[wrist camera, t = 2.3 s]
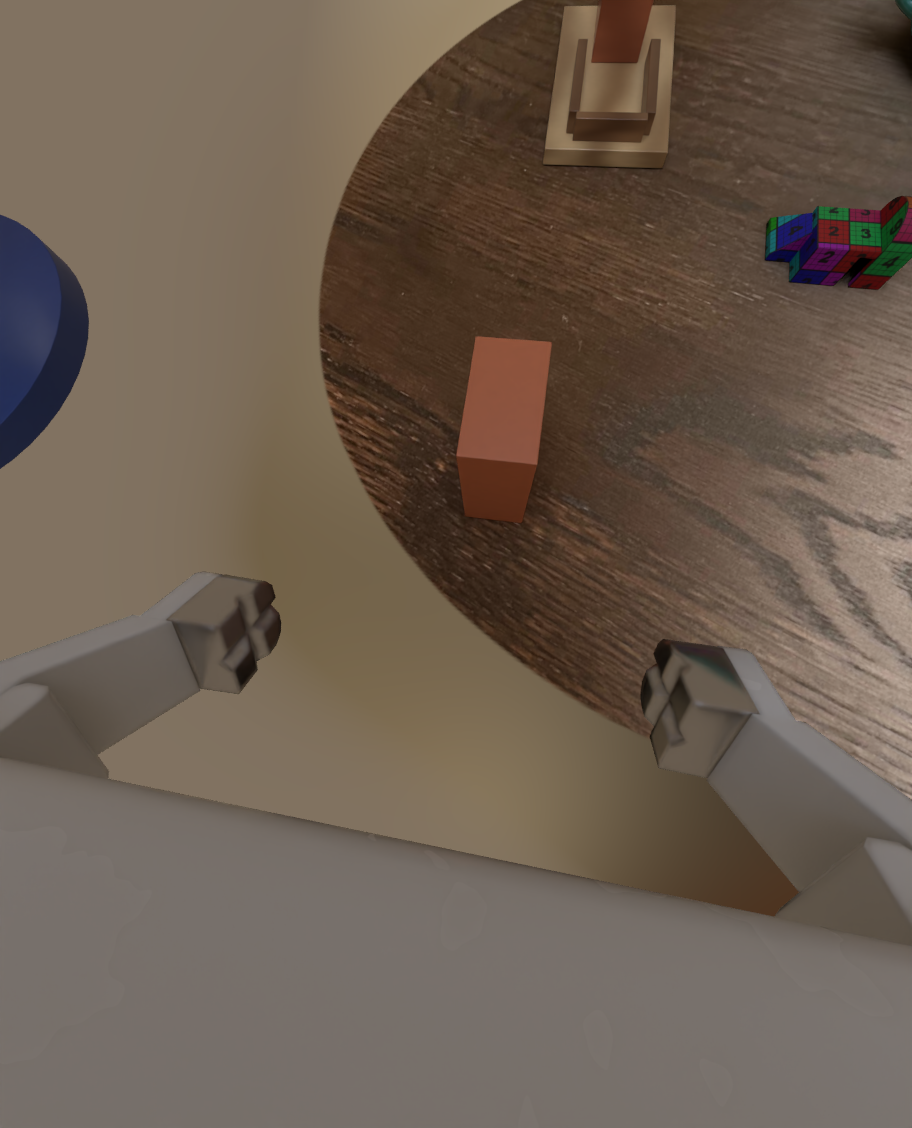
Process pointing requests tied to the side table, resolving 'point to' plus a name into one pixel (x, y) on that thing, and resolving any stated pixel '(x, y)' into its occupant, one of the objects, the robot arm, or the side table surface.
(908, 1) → the mug
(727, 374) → the side table surface
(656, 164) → the pad base
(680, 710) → the robot arm
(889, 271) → the numbered block arch
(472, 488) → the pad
